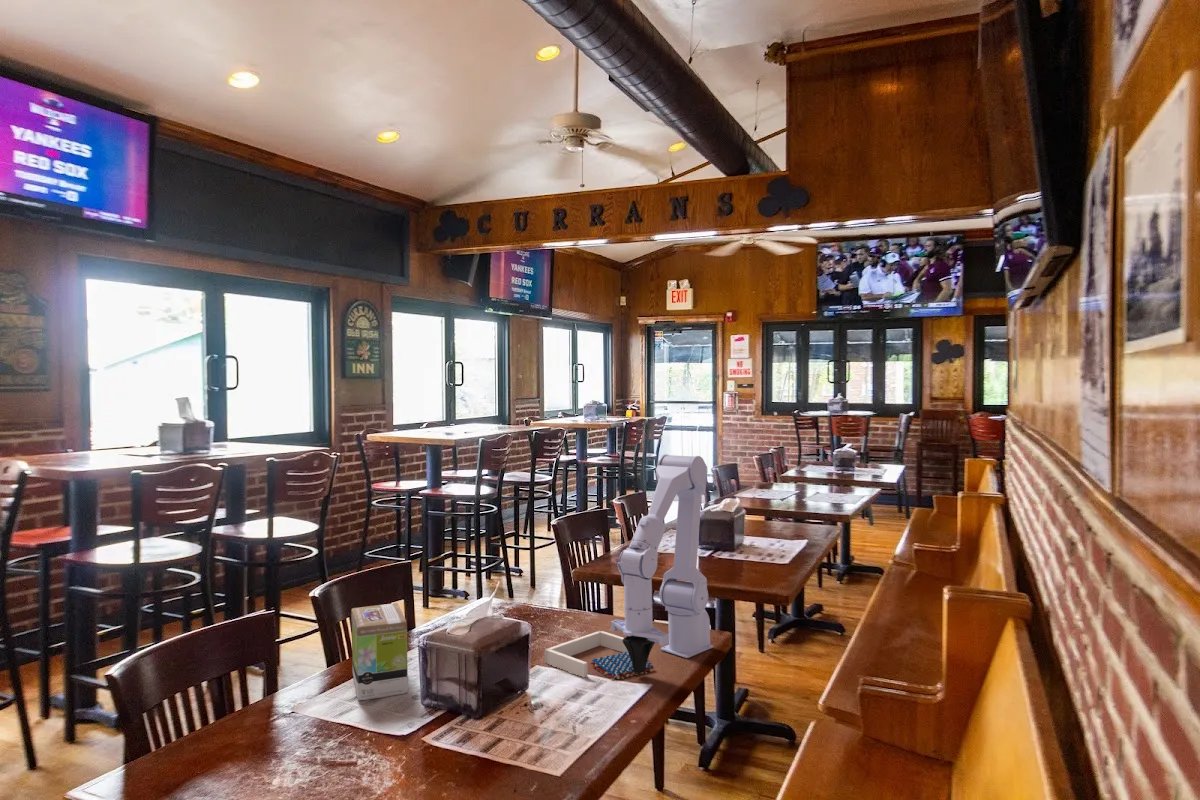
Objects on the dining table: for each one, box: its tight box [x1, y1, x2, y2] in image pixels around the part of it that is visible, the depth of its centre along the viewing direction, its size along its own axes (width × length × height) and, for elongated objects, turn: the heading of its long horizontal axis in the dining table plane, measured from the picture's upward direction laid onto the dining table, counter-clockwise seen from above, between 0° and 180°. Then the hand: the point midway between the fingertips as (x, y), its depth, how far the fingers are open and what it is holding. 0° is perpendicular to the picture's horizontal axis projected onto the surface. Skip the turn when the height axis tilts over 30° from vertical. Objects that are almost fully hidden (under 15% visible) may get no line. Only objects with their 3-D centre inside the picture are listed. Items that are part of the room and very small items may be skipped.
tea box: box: [350, 602, 409, 701], centre depth 160 cm, size 15×10×15 cm, turn 22°
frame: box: [544, 630, 628, 678], centre depth 171 cm, size 17×12×3 cm
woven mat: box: [590, 652, 655, 681], centre depth 166 cm, size 10×11×2 cm
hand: (639, 671), depth 161 cm, fingers closed
